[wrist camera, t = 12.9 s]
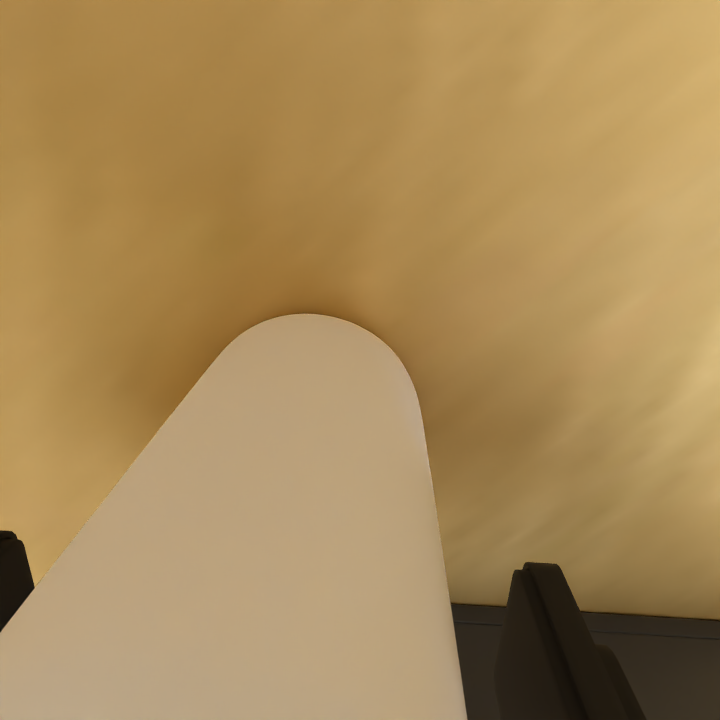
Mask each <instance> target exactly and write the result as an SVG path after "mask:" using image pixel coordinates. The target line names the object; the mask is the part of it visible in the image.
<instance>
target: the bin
mask: <svg viewBox="0 0 720 720" xmlns="http://www.w3.org/2000/svg"><path fill="white" fill-rule="evenodd" d="M451 610H452V617H453V624H454V631H455V638H456V644H457V651H458V658H459V665H460V671H461V678H462V685H463V692H464V699H465V706H466V713H467V720H501V716H500V711H499V707H498V702H497V698H496V693H495V687H494V667H495V662H496V657H497V652H498V647H499V642H500V637H501V632H502V627H503V622H504V617H505V612H506V607H490V606H474V605H458V604H451ZM581 614H582V617H583V619H584V621H585V623H586V626H587V628H588V630H589V632H590V634H591V637H592V639H593V641H594V643H595V644H603V645H607V646H608V647H609V648H610V649H611V650H612V651H613V653H614V654H615V656H616V658H617V659H618V661H619V663H620V665H621V667H622V670H623V672H624V674H625V676H626V678H627V680H628V682H629V684H630V686H631V688H632V690H633V692H634V694H635V696H636V698H637V701H638V703H639V705H640V707H641V709H642V711H643V713H644V715H645V717H646V719H647V720H720V621H713V620H697V619H681V618H665V617H649V616H633V615H617V614H601V613H586V612H581Z"/></svg>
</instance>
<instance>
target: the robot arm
mask: <svg viewBox="0 0 720 720" xmlns="http://www.w3.org/2000/svg"><path fill="white" fill-rule="evenodd" d="M34 588H35V587H34V583H33V579H32V575H31V571H30V567H29V563H28V559H27V555H26V551H25V547H24V544H23V542H22V541H21V540H18V539H17V537H16V534H14V533H13V532H12V531H0V632H1V631H2V630H3V628H4V627H5V626H6V625H7V623H8V622H9V621H10V619H11V618H12V617H13V615H14V614H15V613H16V612H17V610H18V609H19V608H20V606H21V605H22V604H23V603H24V601H25V600H26V599H27V597H28V596H29V595H30V593H31V592H32V591H33V590H34ZM494 687H495V693H496V698H497V702H498V707H499V711H500V716H501V720H647V719H646V717H645V715H644V713H643V711H642V709H641V707H640V705H639V703H638V701H637V698H636V696H635V694H634V692H633V690H632V688H631V686H630V684H629V682H628V680H627V678H626V676H625V674H624V672H623V670H622V667H621V665H620V663H619V661H618V659H617V658H616V656H615V654H614V653H613V651H612V650H611V649H610V648H609V647H608V646H607V645H603V644H595V643H594V641H593V639H592V637H591V634H590V632H589V630H588V628H587V626H586V623H585V621H584V619H583V617H582V614H581V612H580V610H579V608H578V606H577V603H576V601H575V599H574V597H573V595H572V592H571V590H570V588H569V586H568V583H567V581H566V579H565V577H564V575H563V572H562V570H561V569H560V567H559V566H558V565H557V564H549V563H533V562H526V563H525V564H524V566H523V569H522V570H515V571H514V573H513V577H512V582H511V587H510V592H509V597H508V602H507V607H506V612H505V617H504V622H503V627H502V632H501V637H500V642H499V647H498V652H497V657H496V662H495V667H494Z"/></svg>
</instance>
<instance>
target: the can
mask: <svg viewBox="0 0 720 720" xmlns="http://www.w3.org/2000/svg"><path fill="white" fill-rule="evenodd" d="M0 720H467V713H466V706H465V699H464V692H463V685H462V678H461V671H460V665H459V658H458V651H457V644H456V638H455V631H454V624H453V617H452V610H451V604H450V597H449V590H448V583H447V577H446V570H445V563H444V557H443V550H442V544H441V537H440V530H439V524H438V517H437V510H436V504H435V497H434V491H433V484H432V478H431V471H430V465H429V458H428V452H427V446H426V439H425V433H424V427H423V421H422V415H421V410H420V405H419V400H418V396H417V393H416V390H415V388H414V385H413V383H412V380H411V378H410V376H409V374H408V372H407V371H406V369H405V367H404V365H403V364H402V362H401V361H400V359H399V358H398V357H397V355H396V354H395V353H394V352H393V351H392V350H391V348H390V347H389V346H388V345H386V344H385V343H384V342H383V341H382V340H381V339H379V338H378V337H377V336H375V335H374V334H372V333H371V332H369V331H367V330H366V329H364V328H362V327H360V326H358V325H356V324H353V323H351V322H348V321H346V320H343V319H339V318H336V317H331V316H326V315H319V314H292V315H285V316H280V317H276V318H272V319H269V320H266V321H264V322H261V323H259V324H257V325H255V326H253V327H251V328H249V329H248V330H246V331H245V332H243V333H242V334H240V335H239V336H238V337H236V338H235V339H234V340H233V341H232V342H231V343H230V344H229V345H228V346H227V347H226V348H225V349H224V350H223V351H222V352H221V353H220V354H219V356H218V357H217V358H216V359H215V360H214V362H213V363H212V364H211V365H210V367H209V368H208V369H207V370H206V371H205V373H204V374H203V375H202V376H201V378H200V379H199V380H198V381H197V383H196V384H195V385H194V386H193V388H192V389H191V390H190V391H189V393H188V394H187V395H186V396H185V398H184V399H183V400H182V401H181V403H180V404H179V405H178V406H177V408H176V409H175V410H174V412H173V413H172V414H171V415H170V417H169V418H168V419H167V420H166V422H165V423H164V424H163V425H162V427H161V428H160V429H159V430H158V432H157V433H156V434H155V436H154V437H153V438H152V439H151V441H150V442H149V443H148V444H147V446H146V447H145V448H144V449H143V451H142V452H141V453H140V454H139V456H138V457H137V458H136V460H135V461H134V462H133V463H132V465H131V466H130V467H129V468H128V470H127V471H126V472H125V474H124V475H123V476H122V477H121V479H120V480H119V481H118V482H117V484H116V485H115V486H114V487H113V489H112V490H111V491H110V493H109V494H108V495H107V496H106V498H105V499H104V500H103V501H102V503H101V504H100V505H99V507H98V508H97V509H96V510H95V512H94V513H93V514H92V515H91V517H90V518H89V519H88V521H87V522H86V523H85V524H84V526H83V527H82V528H81V530H80V531H79V532H78V533H77V535H76V536H75V537H74V538H73V540H72V541H71V542H70V544H69V545H68V546H67V547H66V549H65V550H64V551H63V553H62V554H61V555H60V556H59V558H58V559H57V560H56V561H55V563H54V564H53V565H52V567H51V568H50V569H49V570H48V572H47V573H46V574H45V576H44V577H43V578H42V579H41V581H40V582H39V583H38V584H37V586H36V587H35V588H34V590H33V591H32V592H31V593H30V595H29V596H28V597H27V599H26V600H25V601H24V603H23V604H22V605H21V606H20V608H19V609H18V610H17V612H16V613H15V614H14V615H13V617H12V618H11V619H10V621H9V622H8V623H7V625H6V626H5V627H4V628H3V630H2V631H1V632H0Z"/></svg>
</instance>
